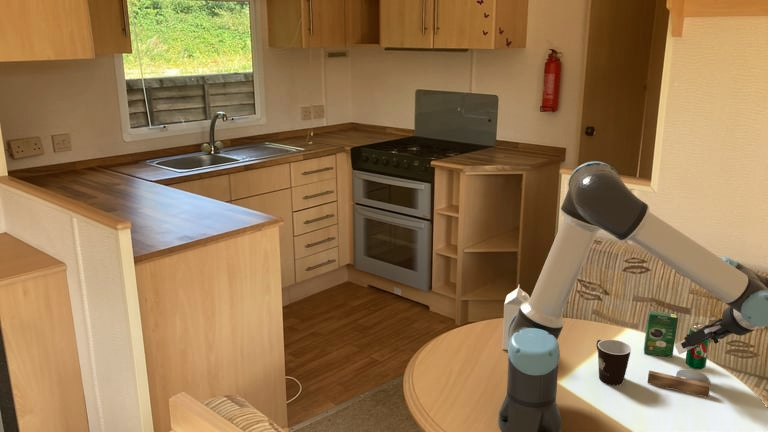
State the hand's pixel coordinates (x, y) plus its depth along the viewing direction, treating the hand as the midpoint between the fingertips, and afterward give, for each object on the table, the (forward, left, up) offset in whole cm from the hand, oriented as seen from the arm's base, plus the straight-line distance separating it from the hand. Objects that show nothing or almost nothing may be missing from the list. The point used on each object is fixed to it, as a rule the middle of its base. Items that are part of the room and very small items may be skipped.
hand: (686, 347), depth 177 cm
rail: (0, -9, -8) cm, 12 cm away
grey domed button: (+3, -2, -8) cm, 9 cm away
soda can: (+3, -2, -4) cm, 6 cm away
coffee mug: (-17, -11, -8) cm, 22 cm away
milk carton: (-46, -6, -8) cm, 48 cm away
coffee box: (-7, +9, -8) cm, 14 cm away
